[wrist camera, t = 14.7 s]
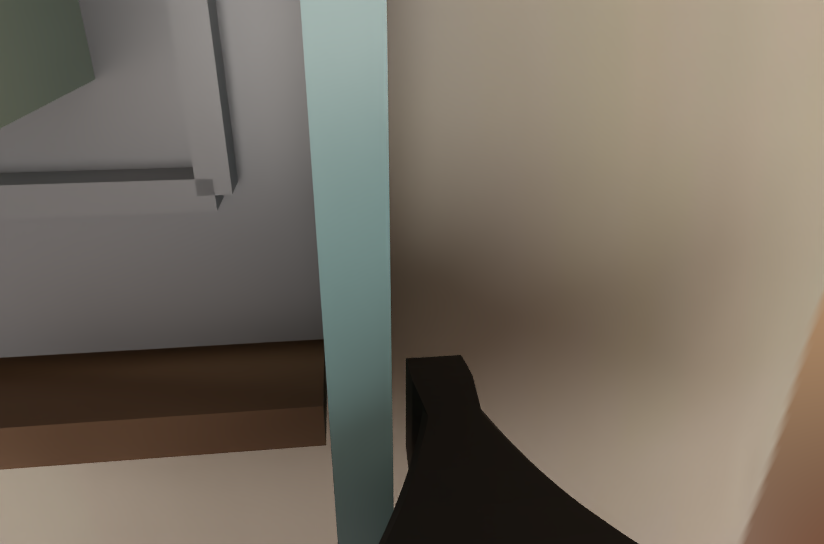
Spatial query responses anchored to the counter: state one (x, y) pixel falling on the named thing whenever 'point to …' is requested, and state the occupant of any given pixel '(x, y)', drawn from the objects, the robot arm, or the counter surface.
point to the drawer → (217, 205)
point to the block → (40, 54)
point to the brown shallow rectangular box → (161, 402)
